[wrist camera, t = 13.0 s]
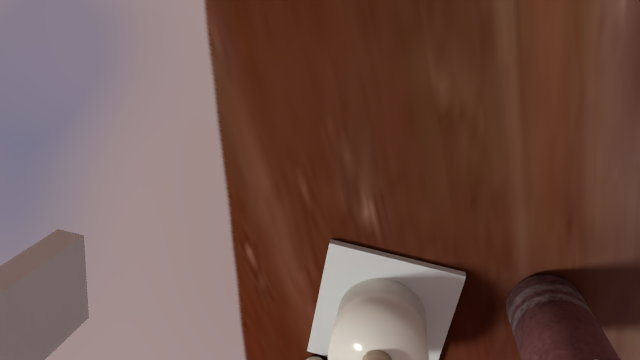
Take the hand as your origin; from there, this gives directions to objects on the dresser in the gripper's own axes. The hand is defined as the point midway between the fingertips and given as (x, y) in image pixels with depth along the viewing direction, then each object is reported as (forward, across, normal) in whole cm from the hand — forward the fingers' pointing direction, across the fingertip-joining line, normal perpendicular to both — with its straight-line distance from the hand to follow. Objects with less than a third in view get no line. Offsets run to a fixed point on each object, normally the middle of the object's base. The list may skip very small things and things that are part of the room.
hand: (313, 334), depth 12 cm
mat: (+27, +3, -19) cm, 33 cm away
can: (+28, +16, -14) cm, 35 cm away
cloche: (+26, +3, -19) cm, 33 cm away
